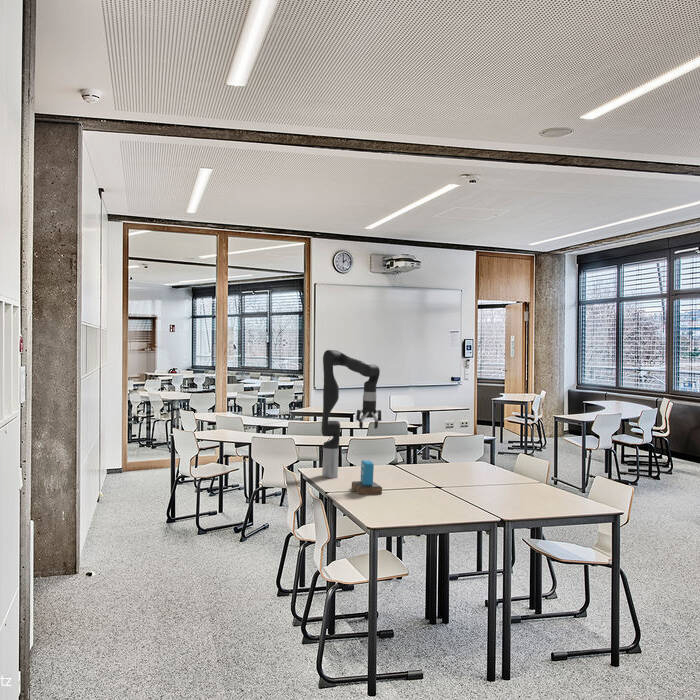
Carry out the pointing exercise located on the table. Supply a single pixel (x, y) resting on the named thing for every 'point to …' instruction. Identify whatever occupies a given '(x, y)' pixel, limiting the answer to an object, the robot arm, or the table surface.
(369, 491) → the stand
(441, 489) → the table surface
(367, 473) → the blue rectangular block
